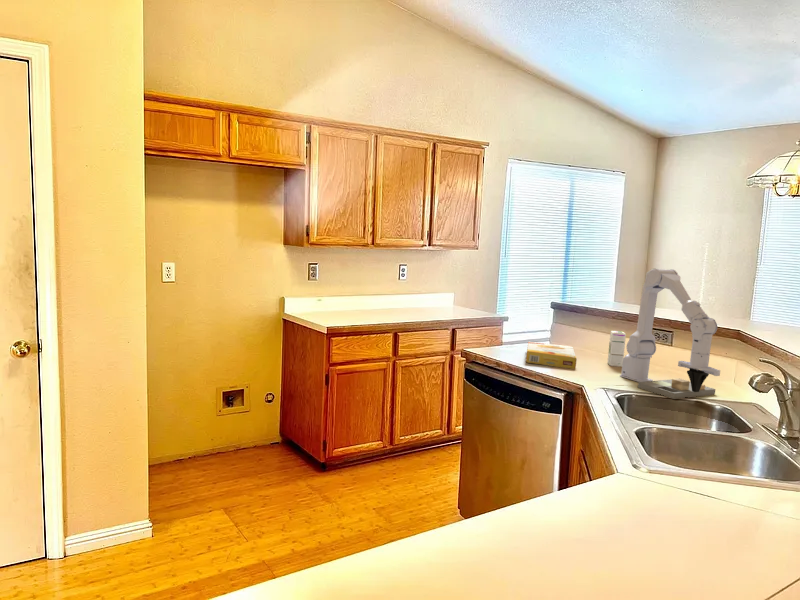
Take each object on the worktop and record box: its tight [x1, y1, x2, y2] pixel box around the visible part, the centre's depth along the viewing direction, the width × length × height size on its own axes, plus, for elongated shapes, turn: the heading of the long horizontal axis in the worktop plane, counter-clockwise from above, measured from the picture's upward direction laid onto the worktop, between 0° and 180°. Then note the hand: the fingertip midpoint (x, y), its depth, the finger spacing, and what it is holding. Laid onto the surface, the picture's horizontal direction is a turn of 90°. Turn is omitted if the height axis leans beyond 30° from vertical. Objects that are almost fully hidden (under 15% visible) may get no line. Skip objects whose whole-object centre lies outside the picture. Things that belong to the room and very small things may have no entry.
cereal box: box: [525, 341, 577, 370], centre depth 255 cm, size 20×6×28 cm
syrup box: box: [607, 330, 627, 368], centre depth 252 cm, size 6×6×14 cm
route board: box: [637, 378, 716, 400], centre depth 213 cm, size 15×22×4 cm
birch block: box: [671, 378, 690, 390], centre depth 209 cm, size 4×4×3 cm
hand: (695, 391), depth 204 cm, fingers closed
